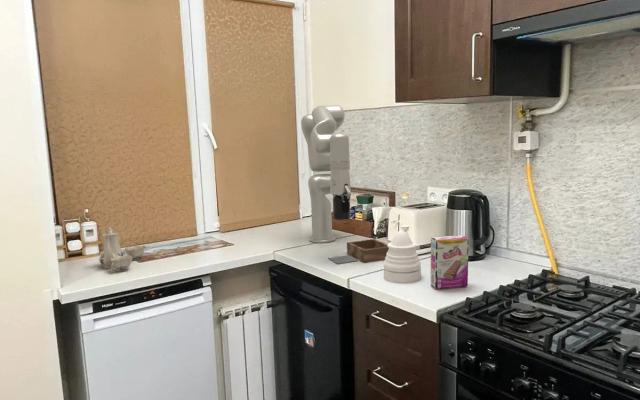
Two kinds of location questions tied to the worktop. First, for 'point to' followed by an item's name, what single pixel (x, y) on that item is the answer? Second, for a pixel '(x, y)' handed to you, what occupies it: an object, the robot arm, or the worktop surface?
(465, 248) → the candy bar box
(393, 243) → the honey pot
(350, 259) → the grey mat
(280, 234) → the worktop surface
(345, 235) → the worktop surface
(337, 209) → the supplement bottle
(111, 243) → the chinaware
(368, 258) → the open-top box
